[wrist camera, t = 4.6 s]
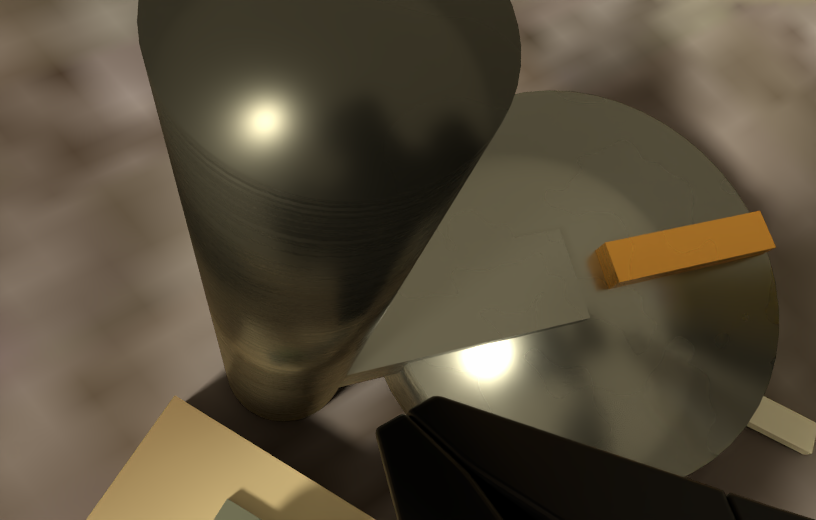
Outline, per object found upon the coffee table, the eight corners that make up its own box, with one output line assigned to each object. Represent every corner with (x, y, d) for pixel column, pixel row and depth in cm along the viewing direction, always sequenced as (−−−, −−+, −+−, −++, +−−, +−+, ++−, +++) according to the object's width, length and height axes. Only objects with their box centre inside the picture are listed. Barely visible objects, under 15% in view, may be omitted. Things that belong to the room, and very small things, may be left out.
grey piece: (639, 120, 20) (1105, -361, 9) (766, 439, 17) (1627, 315, 6) (191, 191, 17) (54, -425, 6) (268, 592, 14) (289, 871, 3)
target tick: (809, 425, 18) (818, 424, 18) (803, 454, 18) (812, 453, 17) (726, 382, 18) (733, 380, 18) (718, 411, 18) (725, 409, 17)
